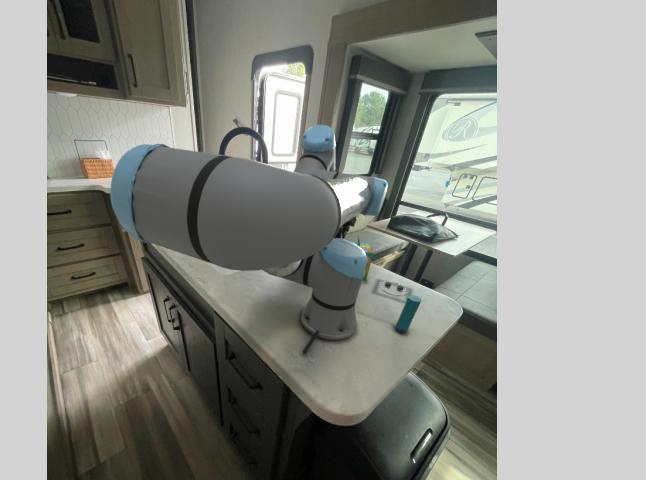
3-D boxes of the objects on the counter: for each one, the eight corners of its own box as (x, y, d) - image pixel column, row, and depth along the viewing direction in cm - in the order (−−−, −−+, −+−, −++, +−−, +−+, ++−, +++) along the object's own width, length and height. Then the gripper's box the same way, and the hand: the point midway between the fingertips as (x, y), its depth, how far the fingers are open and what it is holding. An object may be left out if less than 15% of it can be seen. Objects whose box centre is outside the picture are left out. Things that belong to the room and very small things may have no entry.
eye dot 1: (390, 287, 91) (391, 285, 91) (384, 285, 92) (385, 284, 92) (391, 284, 93) (391, 283, 93) (385, 283, 94) (385, 281, 93)
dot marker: (405, 335, 74) (421, 303, 67) (393, 331, 75) (407, 299, 69) (407, 329, 76) (421, 297, 70) (395, 325, 77) (408, 293, 71)
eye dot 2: (402, 290, 90) (403, 289, 90) (396, 289, 91) (397, 287, 90) (403, 288, 91) (404, 286, 91) (397, 286, 92) (397, 284, 92)
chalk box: (365, 283, 96) (377, 244, 87) (339, 279, 97) (349, 240, 89) (363, 271, 103) (374, 234, 95) (339, 267, 105) (348, 231, 96)
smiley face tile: (407, 303, 87) (408, 300, 86) (373, 292, 91) (374, 290, 90) (410, 289, 95) (411, 286, 94) (378, 280, 98) (379, 277, 98)
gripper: (371, 181, 71) (364, 230, 90) (287, 168, 80) (297, 215, 99) (362, 203, 69) (357, 248, 88) (276, 187, 78) (289, 231, 97)
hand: (325, 231), depth 94 cm, fingers open, 13 cm apart
